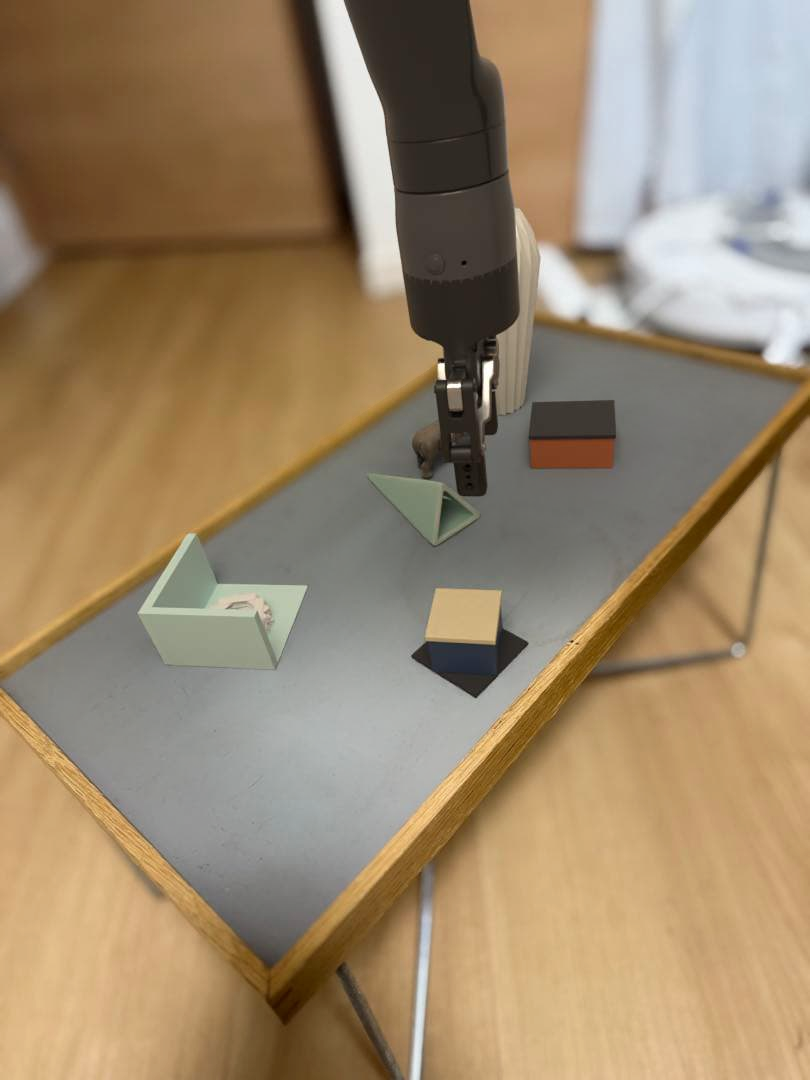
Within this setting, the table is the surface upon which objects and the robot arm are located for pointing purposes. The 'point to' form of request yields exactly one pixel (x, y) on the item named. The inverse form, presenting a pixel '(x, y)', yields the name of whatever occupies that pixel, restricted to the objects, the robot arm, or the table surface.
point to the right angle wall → (217, 615)
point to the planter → (427, 505)
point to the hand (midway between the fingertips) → (479, 461)
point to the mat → (477, 682)
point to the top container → (465, 631)
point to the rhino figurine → (428, 446)
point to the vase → (519, 323)
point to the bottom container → (572, 434)
